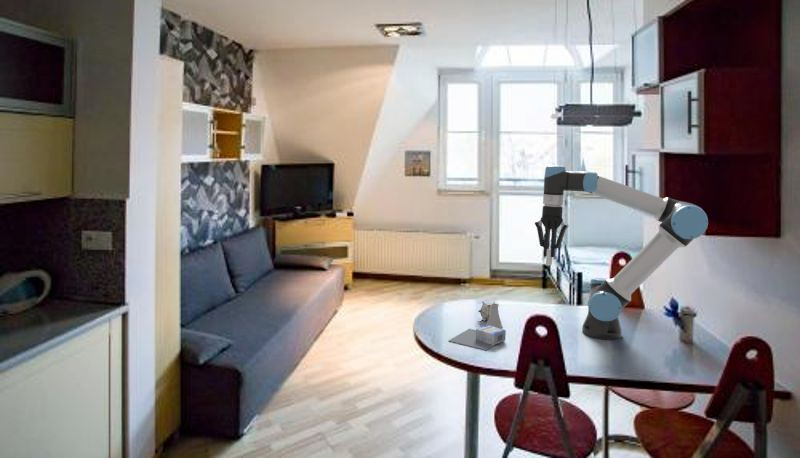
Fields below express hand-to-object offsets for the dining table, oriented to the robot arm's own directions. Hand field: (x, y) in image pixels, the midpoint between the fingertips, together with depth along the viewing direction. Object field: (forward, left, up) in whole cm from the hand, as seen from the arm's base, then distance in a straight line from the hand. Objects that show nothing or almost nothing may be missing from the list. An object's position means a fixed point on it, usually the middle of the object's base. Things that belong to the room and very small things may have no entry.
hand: (548, 264), depth 214 cm
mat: (+20, +20, -29) cm, 41 cm away
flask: (+21, +2, -30) cm, 36 cm away
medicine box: (+11, +20, -27) cm, 35 cm away
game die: (+27, -5, -30) cm, 40 cm away
